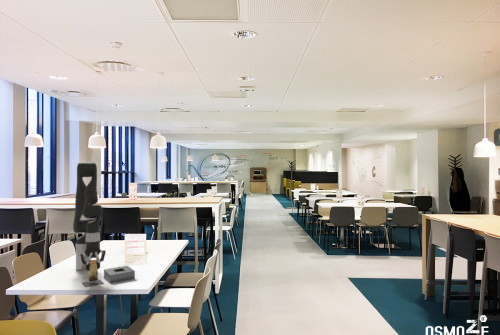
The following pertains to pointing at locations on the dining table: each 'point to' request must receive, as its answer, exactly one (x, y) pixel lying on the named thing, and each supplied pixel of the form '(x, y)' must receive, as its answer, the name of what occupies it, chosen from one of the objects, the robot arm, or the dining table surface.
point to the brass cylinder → (93, 270)
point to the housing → (119, 274)
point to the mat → (92, 283)
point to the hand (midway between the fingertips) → (92, 269)
